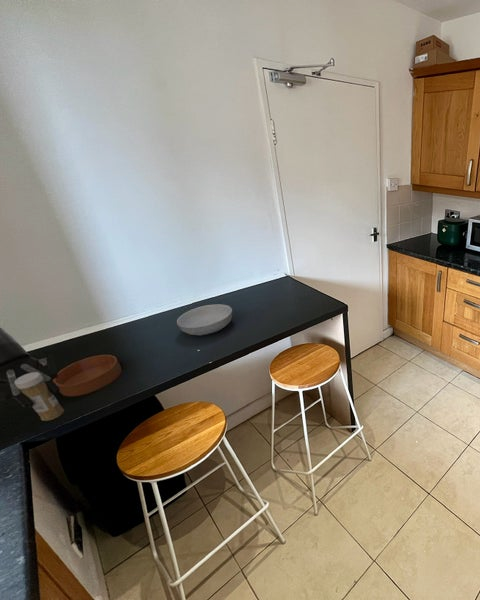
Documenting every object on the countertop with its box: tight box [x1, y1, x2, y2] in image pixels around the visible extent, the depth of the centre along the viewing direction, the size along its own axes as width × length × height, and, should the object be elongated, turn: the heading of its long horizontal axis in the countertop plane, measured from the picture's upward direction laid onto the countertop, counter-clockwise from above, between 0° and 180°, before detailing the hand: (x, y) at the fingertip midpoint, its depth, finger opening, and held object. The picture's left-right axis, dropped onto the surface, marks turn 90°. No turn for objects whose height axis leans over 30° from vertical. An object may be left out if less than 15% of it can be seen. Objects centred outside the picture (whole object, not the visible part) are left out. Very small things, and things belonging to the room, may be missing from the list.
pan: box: [53, 354, 123, 397], centre depth 107 cm, size 16×16×4 cm
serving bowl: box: [176, 303, 233, 336], centre depth 136 cm, size 21×21×7 cm
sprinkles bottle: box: [14, 372, 65, 422], centre depth 83 cm, size 5×5×14 cm
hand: (44, 399), depth 82 cm, fingers closed on sprinkles bottle, 4 cm apart
